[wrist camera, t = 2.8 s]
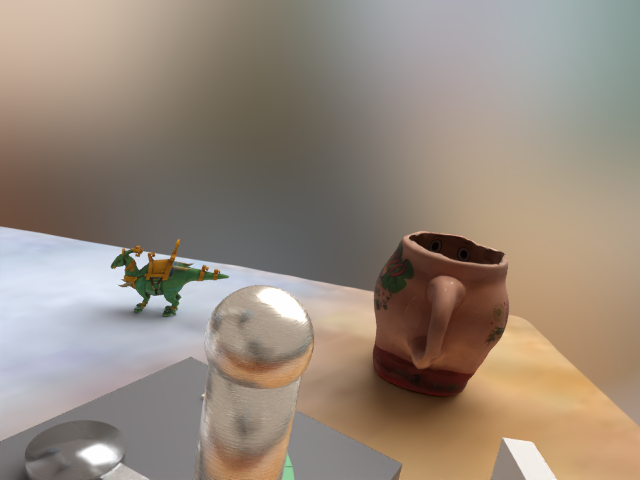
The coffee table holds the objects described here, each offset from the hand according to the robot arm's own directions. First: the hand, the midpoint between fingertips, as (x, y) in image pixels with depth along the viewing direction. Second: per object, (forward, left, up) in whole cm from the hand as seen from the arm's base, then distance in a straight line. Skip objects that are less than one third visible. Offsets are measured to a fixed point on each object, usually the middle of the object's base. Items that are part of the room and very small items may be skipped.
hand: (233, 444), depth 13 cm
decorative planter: (-5, +37, -15) cm, 40 cm away
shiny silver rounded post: (-10, +7, -13) cm, 18 cm away
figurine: (-31, +29, -15) cm, 45 cm away
